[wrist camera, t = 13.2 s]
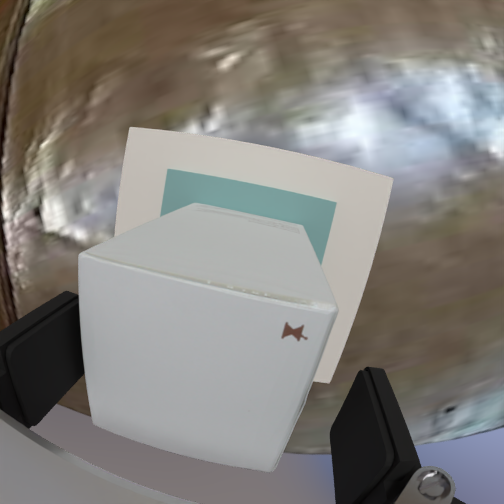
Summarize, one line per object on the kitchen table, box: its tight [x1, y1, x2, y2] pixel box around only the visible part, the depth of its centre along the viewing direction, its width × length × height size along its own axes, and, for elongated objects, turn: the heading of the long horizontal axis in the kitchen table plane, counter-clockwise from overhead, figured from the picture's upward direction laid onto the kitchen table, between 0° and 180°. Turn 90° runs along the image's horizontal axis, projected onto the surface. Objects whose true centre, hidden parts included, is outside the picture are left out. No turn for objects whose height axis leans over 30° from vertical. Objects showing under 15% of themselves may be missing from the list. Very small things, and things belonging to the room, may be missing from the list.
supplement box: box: [78, 203, 339, 473], centre depth 14 cm, size 7×7×13 cm
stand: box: [114, 127, 394, 383], centre depth 23 cm, size 18×16×5 cm
